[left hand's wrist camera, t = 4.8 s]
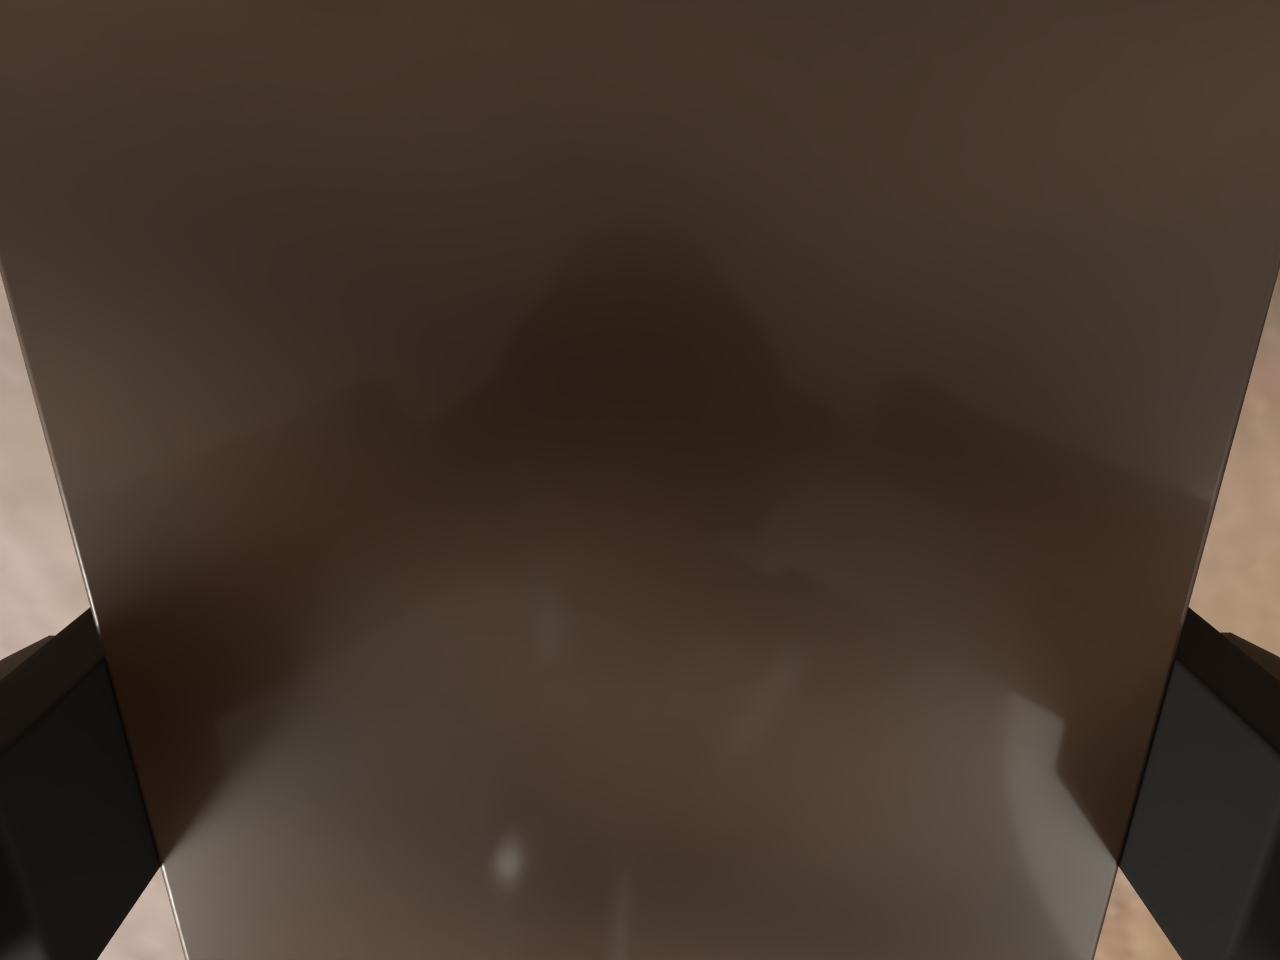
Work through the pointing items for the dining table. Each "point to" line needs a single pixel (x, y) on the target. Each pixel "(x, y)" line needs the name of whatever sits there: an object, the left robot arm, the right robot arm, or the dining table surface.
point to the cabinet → (639, 450)
